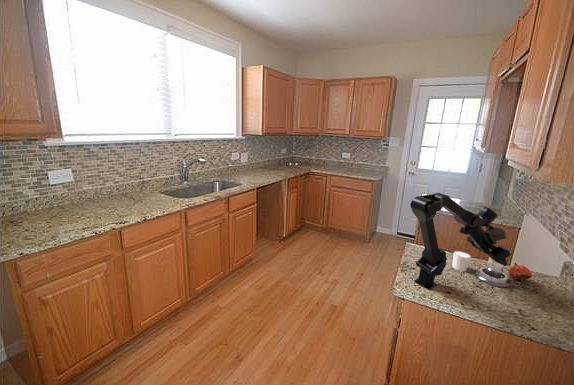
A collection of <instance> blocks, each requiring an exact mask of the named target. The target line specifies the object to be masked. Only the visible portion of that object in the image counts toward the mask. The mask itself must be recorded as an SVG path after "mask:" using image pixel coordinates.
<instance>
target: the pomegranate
mask: <svg viewBox="0 0 574 385" xmlns="http://www.w3.org/2000/svg"><path fill="white" fill-rule="evenodd" d="M513 264H514V265H513V266H511V267H509V270H508V273H507V274H508V276H509V277H510V278H511V279H512V280H519V281H521V282H522V285H523V286H525V284H524V281H526V280H528V279H531V278H532V277H533V276H532V275H533V274H532V272H531V270H530V269H529V268H528V267H526V266H525V265H521V264H520V265H518V264H517V263H516V262H514V263H513Z"/></svg>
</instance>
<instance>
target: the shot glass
mask: <svg viewBox="0 0 574 385" xmlns="http://www.w3.org/2000/svg"><path fill="white" fill-rule="evenodd" d="M471 258H472V255H471V254H469V253H467V252H465V251H464V252H463V251H460V250H459V251H457V250H455V251H453V256H452V264H451V266H452V268H453V269H455V270H457V271H460V272H466V271H467V270H468V267H469V264H470V262H471V260H472V259H471Z"/></svg>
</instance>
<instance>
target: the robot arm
mask: <svg viewBox="0 0 574 385" xmlns="http://www.w3.org/2000/svg"><path fill="white" fill-rule="evenodd" d="M409 204H410V209H411V211H412V213H413V214H414V216H415V217H416V219H417V220H418V224H419V229H420V232H421V237H422V242H423V246H424V248H423V251H421V256H420V257H419V258H418V259H416V261H415V264H416V267H418V268H420V269H419V273H418V278H416V279H414V282H415V283H416V284H418V285H420V286H422V287H424V288H425V289H426V290H430V289H432V288H434V287H436V286H438V283H436V282H435V280H436V279H435V278H436V277H437V276H441V275H442V273H443V272H444V270H445V268H446V266H447V260H448V258H447V252H446V250H443V249H441V248H440V247H439V244H438V238H437V232H436V227H435V223H434V218H435V217H436V215H437V212H440V211H441V210H442V209H444V210H446V211H447V212H448V213H450V214H451V215H452V216H453V219H454V220H455V221H456V222H457V223H459V224H461V225H463V226H460V229H459V234H462V235H466V236H467V238H466V242H468V244H470V245H471V246H472V247H474V248H475V249H477V250H478V251H481V252H482V253H485V254H486V255H488V258H489V257H490V258H491V259H492V260H493V261H495V262H496V263H499V264H501V265H504V267H506V266H508V261H507V258H509V257H510V256H511V255H512V253H511V251H510V250H509V249H508V248H506V247H504V246H501V245H499V246H495V245H496V244H497V243H498V242H497V241H501V240H505V239H507V234H506V231H505V230H504V229H502V228H500V227H497V226H493V225H492V223H493V222H494V221H495V220H496V219H497V218H499V217H498V216H499V215H498V214H497V213H496V212H495V211H493V210H492V209H491V208H490V207H488V206H484V207H483V208H482V209H481V210H480V211H479V212H477V213H474V212H471V211H469V210H467V209H465V208H464V207H462V206H461V205H460V204H459V203H457V202H456V201H455V200H453V199H452V198H451V197H450V196H449V195H447V194H445V193H441V192H434V193H432V194H422V195H420V196H415V197H414V198H413V199H412V200H411V201H410V203H409ZM483 227H485V230H484V228H483Z"/></svg>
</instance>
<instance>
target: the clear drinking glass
mask: <svg viewBox="0 0 574 385" xmlns="http://www.w3.org/2000/svg"><path fill="white" fill-rule="evenodd" d="M504 268H505V266H504V265H501V264H499V263H496V262H495V261H493V260H492V259H491V258H490V257H489V256H488V260H487V264H486V271H485V274H487V275H489V276H491V277H495V278H500V279H501V276H502V272H503V273H504Z"/></svg>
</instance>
